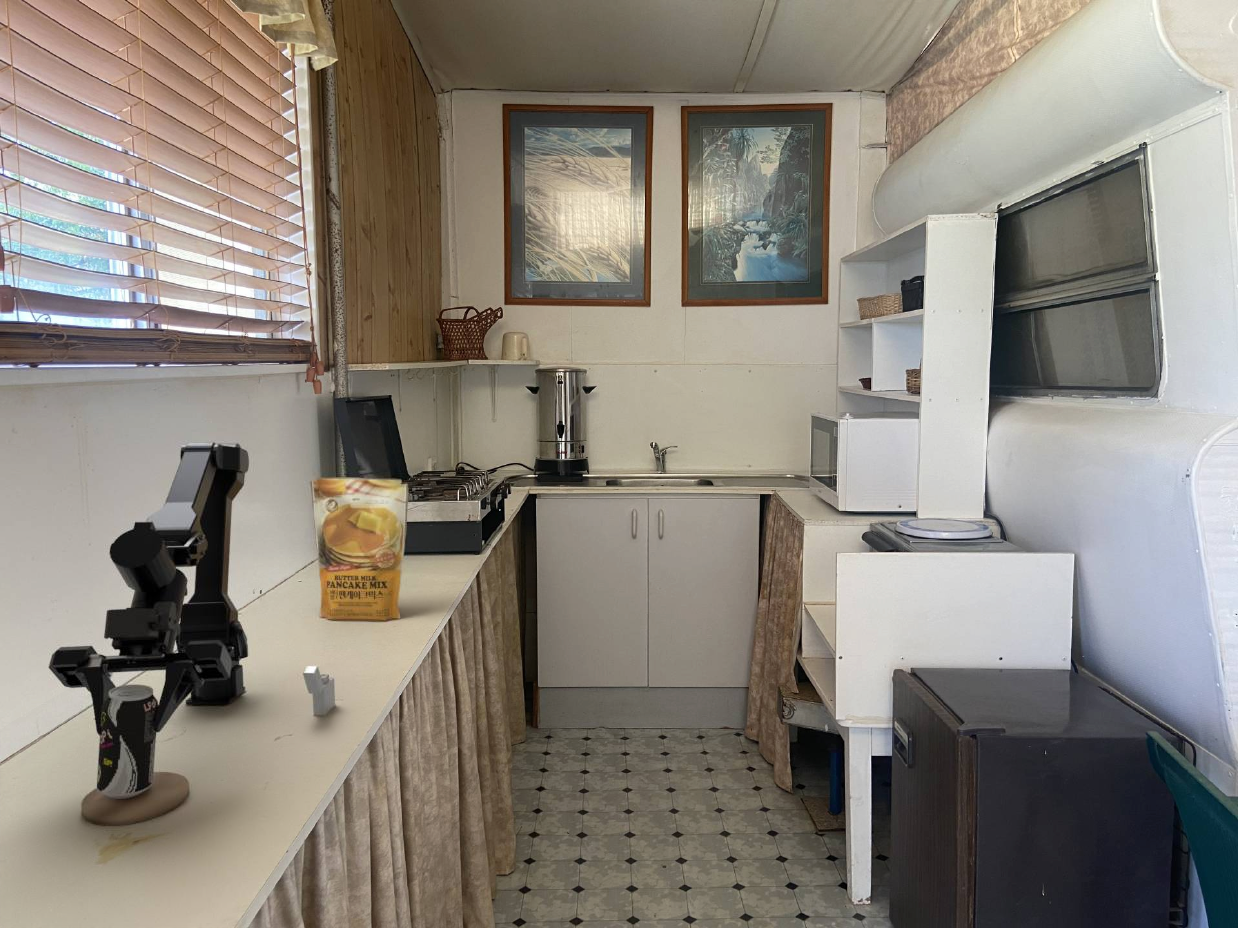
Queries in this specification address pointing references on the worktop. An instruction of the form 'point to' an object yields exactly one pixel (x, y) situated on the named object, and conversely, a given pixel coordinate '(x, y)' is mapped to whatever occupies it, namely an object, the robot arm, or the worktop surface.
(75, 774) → the worktop surface
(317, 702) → the lighter
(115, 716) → the beverage can
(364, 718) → the worktop surface
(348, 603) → the pancake mix bag
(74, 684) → the robot arm
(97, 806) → the bronze round coaster
